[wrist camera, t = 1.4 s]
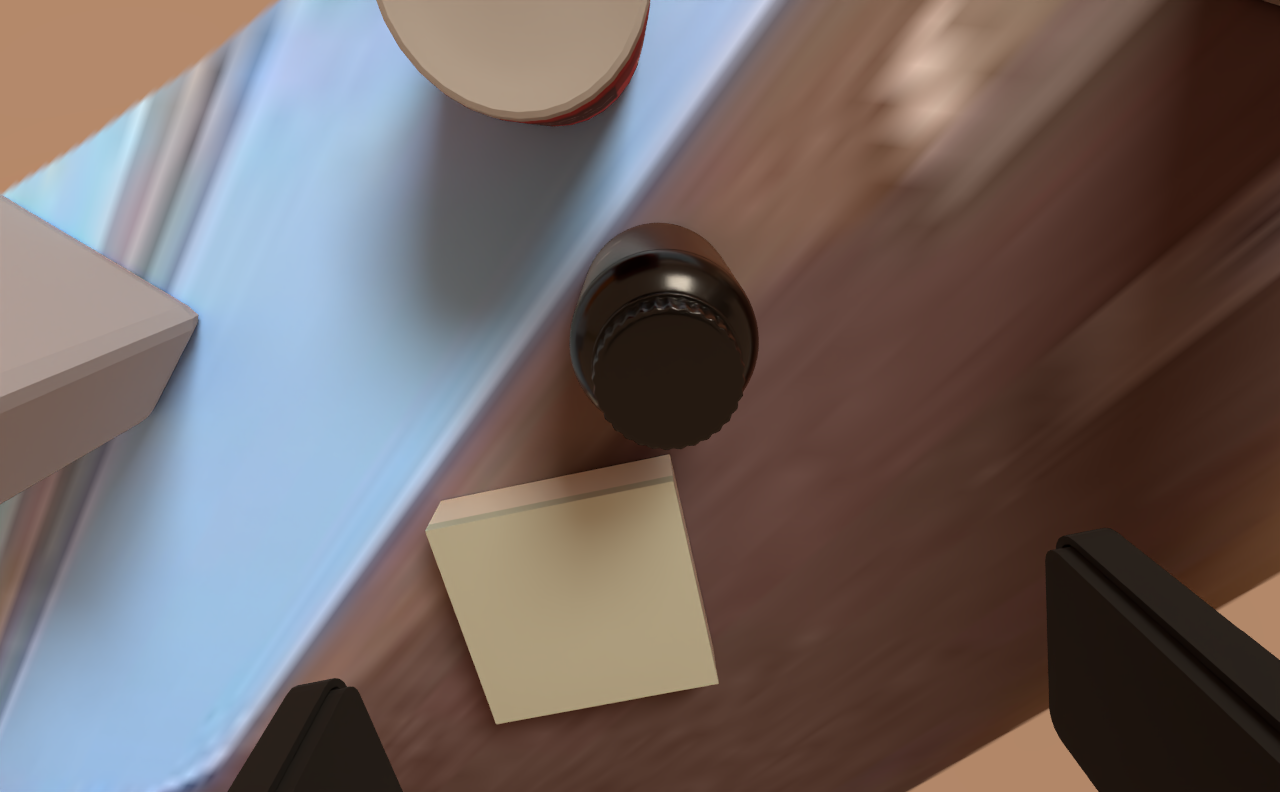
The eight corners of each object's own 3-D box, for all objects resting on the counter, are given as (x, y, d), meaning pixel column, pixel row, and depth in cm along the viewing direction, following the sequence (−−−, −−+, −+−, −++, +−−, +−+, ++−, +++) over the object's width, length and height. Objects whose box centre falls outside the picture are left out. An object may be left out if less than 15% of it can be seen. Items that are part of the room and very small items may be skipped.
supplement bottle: (572, 232, 32) (540, 282, 21) (722, 211, 32) (774, 250, 21) (595, 375, 34) (578, 491, 23) (736, 357, 34) (788, 465, 23)
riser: (669, 454, 36) (673, 481, 33) (712, 645, 40) (718, 683, 37) (441, 500, 37) (425, 531, 34) (505, 683, 41) (496, 724, 38)
